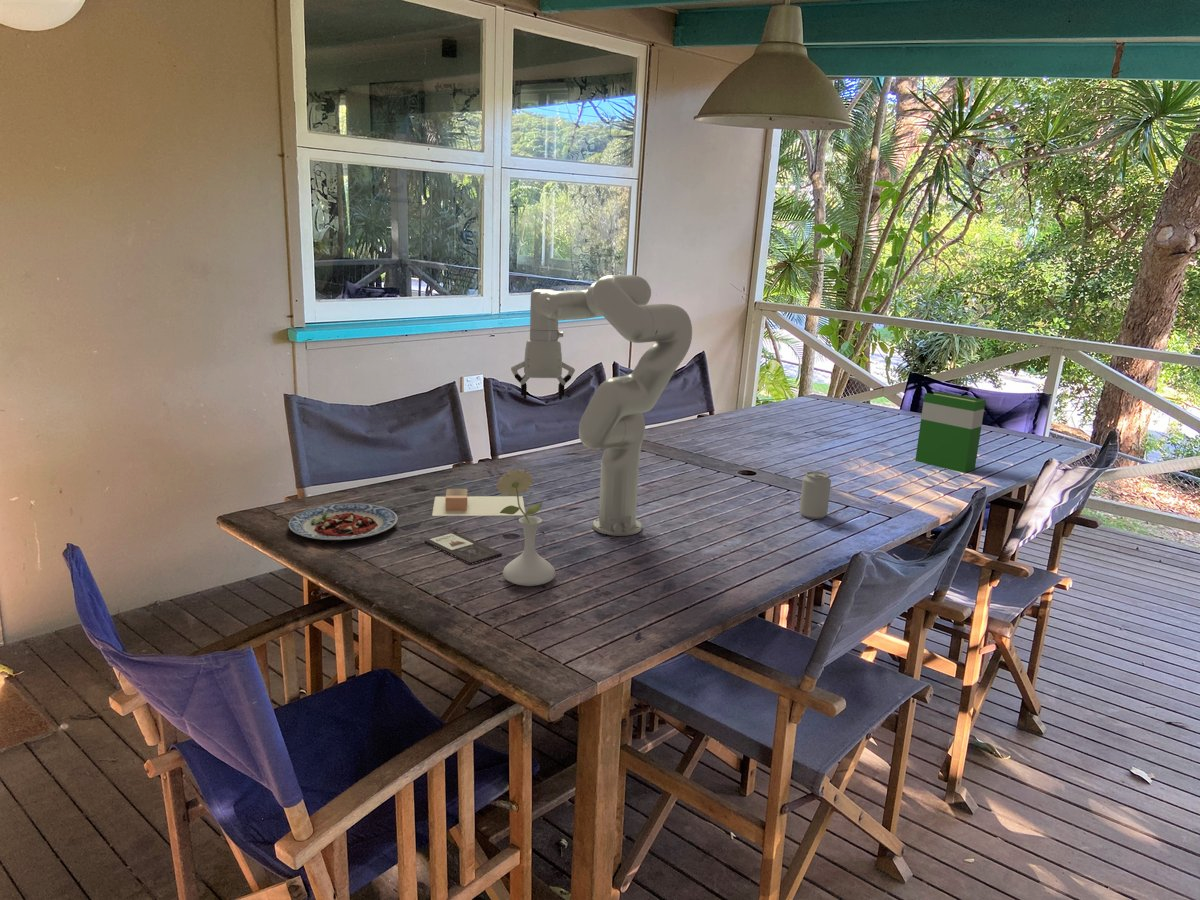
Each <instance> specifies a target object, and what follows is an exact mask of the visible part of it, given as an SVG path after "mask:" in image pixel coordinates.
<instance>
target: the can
mask: <svg viewBox="0 0 1200 900" xmlns="http://www.w3.org/2000/svg"><path fill="white" fill-rule="evenodd" d="M831 483H832V481H831V479H830V475H829V474H828V473H826V472H823V471H816V470H811V471H809V470H808V471H806V472H805V475H804V476H803V477H802V482H801V491H800V502H799V510H798V511H799V513H800V514H801V516H803V517H805V518H808V519H811V520H820V519H823V518H825V517H826V516H828V512H829V511H828V509H829V502H830V493H831V485H832V484H831Z"/></svg>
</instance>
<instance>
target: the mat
mask: <svg viewBox="0 0 1200 900" xmlns="http://www.w3.org/2000/svg"><path fill="white" fill-rule="evenodd" d="M518 496H519V504H520V507H521V509H522V510H523V512H524V513H525V514H526V508H525V503H524V498H523V497H524V496H523V495H521V496H520V495H518ZM445 498H446V496H435V497H434V500H433V501H434V502H433V508H432V514H431V516H432V517H469V516H471V517H479V516H480V517H481V516H482V517H484V516H485V517H490V516H491V517H493V516H499V517H500V516H501V517H502V516H505V517H506V516H511V517H512V516H513V517H514V516H518V517H519V516H520V517H525V516H524V514H523V513H522V512H521V510H520V509H519V510H518V511H517V512H516V513H515V514H505V513H500V512H501V511H502V510H503V509H504V508H505V507H507V506H515V507H518V508H519V506H518V500H517V495H516V496H508V495H507V496H506V495H503V496H501V495H500V496H499V495H497V496H495V495H494V496H489V495H488V496H487V495H485V496H480V495H479V496H477V495H475V496H468V495H467V511H446V505H445Z"/></svg>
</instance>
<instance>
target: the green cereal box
mask: <svg viewBox="0 0 1200 900" xmlns="http://www.w3.org/2000/svg"><path fill="white" fill-rule="evenodd" d="M923 396H924V397H923V403H922V409H921V417H920V423H919V424H920V426H919V431H918V438H917V439H918V440H917V445H916V446H917V447H916V454H915V460H914V461H915V462H917V463H922V464H925V465H926V464H927V465H929V466H934V467H938V468H942V469H947V470H951V471H955V472H958V473H962V474H966V473H969V472H971V471H975V469H976V463H977V457H978V452H979V451H978V450H979V445H980V439H981V438H980V437H981V433H982V425H983V420H984V419H983V418H984V413H985V407H986V406H985V405H986V399H981V398H975V397H971V396H965V395H960V394H953V393H947V392H942V391H937V390H934V391H933V393H929V392H924V395H923Z"/></svg>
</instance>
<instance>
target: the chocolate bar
mask: <svg viewBox="0 0 1200 900" xmlns="http://www.w3.org/2000/svg"><path fill="white" fill-rule="evenodd" d="M425 542H426V543H425ZM424 543H425V544H427V543H428V544H427V545H429V544H430V545H429V546H431V545H432V546H431V547H433V546H435V547H437V548H439V549H441V550H443V551H445V552H447V553H449V554H452V555H453V556H456V557H457V558H459V559H461V560H463V561H465V562H468V563H469V564H472V563H475V562H479V561H482V560H485V561H487V560H486V559H489V558H492V559H494V558H493V557H495V558H497V557H496V556H498V557H500V556H499V555H503V554H502V552H500V551H497V550H496V549H493V548H491V547H489V546H487V545H485V544H482V543H480V542H478V541H476V540H474V539H472V538H470V537H467V536H466V535H463V534H460V533H458V532H454V531H453V532H451V533H448V534H444V535H440V536H436V537H432V538H430V539H425V540H424ZM435 547H434V548H435ZM437 548H436V549H437ZM439 549H438V550H439ZM441 550H440V551H441ZM443 551H442V552H443ZM445 552H444V553H445ZM447 553H446V554H447ZM449 554H448V555H449ZM453 556H452V557H453ZM457 558H456V559H457ZM459 559H458V560H459ZM461 560H460V561H461ZM489 560H490V559H489ZM463 561H462V562H463ZM465 562H464V563H465ZM482 562H483V561H482ZM479 563H480V562H479ZM469 564H468V565H469ZM475 564H476V563H475ZM472 565H473V564H472Z"/></svg>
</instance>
